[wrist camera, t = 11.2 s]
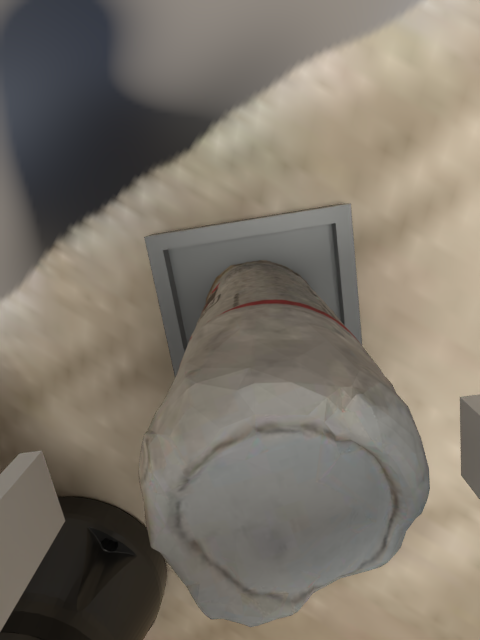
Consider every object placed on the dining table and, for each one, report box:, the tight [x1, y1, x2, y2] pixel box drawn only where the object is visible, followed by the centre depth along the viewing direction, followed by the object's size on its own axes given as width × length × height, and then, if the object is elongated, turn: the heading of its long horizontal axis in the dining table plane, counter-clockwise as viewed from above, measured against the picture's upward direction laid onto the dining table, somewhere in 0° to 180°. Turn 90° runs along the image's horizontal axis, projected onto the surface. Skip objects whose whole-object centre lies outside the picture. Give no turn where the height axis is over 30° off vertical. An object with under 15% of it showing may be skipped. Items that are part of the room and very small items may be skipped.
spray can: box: [139, 260, 430, 627], centre depth 19 cm, size 8×8×20 cm
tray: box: [144, 203, 362, 377], centre depth 28 cm, size 13×13×2 cm
